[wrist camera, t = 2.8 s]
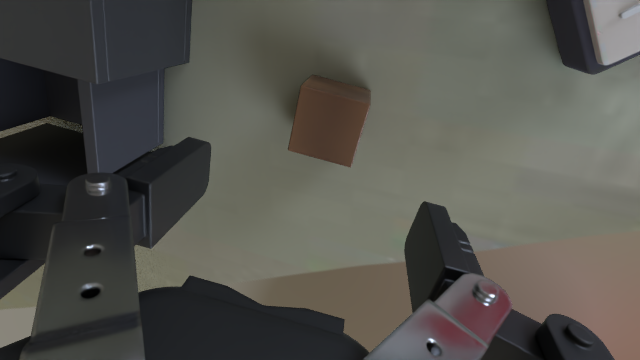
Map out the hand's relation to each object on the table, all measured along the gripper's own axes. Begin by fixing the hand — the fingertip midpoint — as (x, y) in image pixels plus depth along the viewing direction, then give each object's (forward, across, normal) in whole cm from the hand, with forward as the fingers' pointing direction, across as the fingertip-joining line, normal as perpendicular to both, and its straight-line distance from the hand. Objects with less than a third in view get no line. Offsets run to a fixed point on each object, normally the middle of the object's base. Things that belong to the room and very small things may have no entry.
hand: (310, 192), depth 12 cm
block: (+14, 0, +1) cm, 15 cm away
